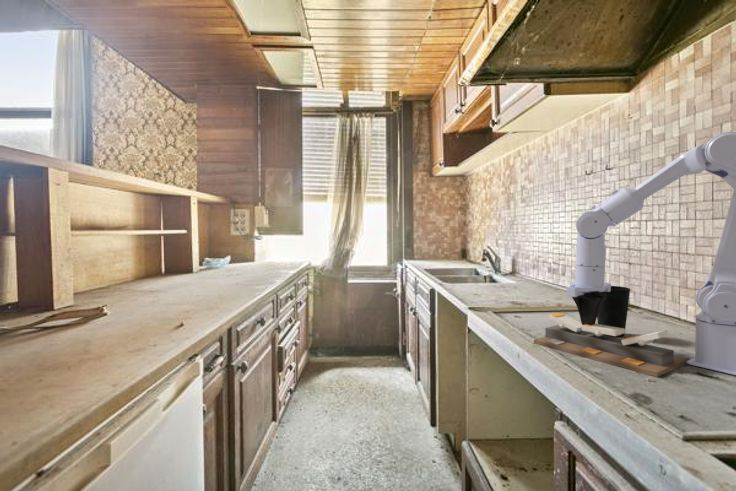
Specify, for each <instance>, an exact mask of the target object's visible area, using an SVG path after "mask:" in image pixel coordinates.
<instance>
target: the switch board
mask: <svg viewBox="0 0 736 491" xmlns="http://www.w3.org/2000/svg"><path fill="white" fill-rule="evenodd" d="M544 329H545V331H544V332H545V335H544V336H543V337H540V338H536V339H533V344H535V345H539V346H543V347H546V348H550V349H554V350H557V351H561V352H565V353H569V354H572V355H576V356H579V357H583V358H587V359H590V360H594V361H597V362H601V363H604V364H608V365H611V364H612V366H615V365H617V366H616V367H619V366H620V367H619V368H622V367H623V369H626V368H627V369H626V370H629V369H630V371H633V370H634V371H633V372H638V373H641V374H645V375H648V376H651V377H655V378H658V377H661V376H663V375H665V374H667V373H669V372H672V371H674V370H676V369H678V368H680V367H682V366H685V365H688V364H687V363H686V361H688V360H690V358H689V357H685V356H684V357H683V356H680V355H675V354H674V353H675V352H674V351H675V350H674V349H671V348H666V347H660V346H656V345H652V344H645V345H639V344H638V343H633V344H628V345H623V344H622V342H621V340H623V339H624V338H621V337H610V336H606V335H601V336H596V334H595V332H590V331H585V330H582V331H579V332H575V331H573V330H571V329H569V328H567V327H565V328H561V327H560V326H559V324H557V325H553V326H548V327H545V328H544Z"/></svg>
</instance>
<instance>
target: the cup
mask: <svg viewBox="0 0 736 491" xmlns="http://www.w3.org/2000/svg"><path fill="white" fill-rule="evenodd" d="M630 293H631V289H630V287H625V286H618V285H611V291H610V292H606V291H604V292H599V294H603V295H607V298H606V300H605V301H604V303H603V304H602V306H601V308H600V310H599V313H598V315H597V319H596V322H597V324H600V325H606V326H612V327H618V328H624V329H625V330H626V329H627V328H626V327H627V319H628V310H629V302H630V301H629V300H630ZM625 334H626V332H625V333H624V334H621V335H617V336H612V335H606V334H605V335H606V336H610V337H615V338H624V337H625V336H626V335H625Z"/></svg>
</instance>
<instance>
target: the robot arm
mask: <svg viewBox="0 0 736 491" xmlns="http://www.w3.org/2000/svg"><path fill="white" fill-rule="evenodd" d="M705 143H706V142H703V143H701V144H699V145H696V146H695V147H694V148H691V149H689V150H688V151H686V152H685V153H683V154H681V155H680V156H678V157H676V158H675V159H674V160H672V161H671V162H670V163H668V164H666V165H665V166H663V167H662V168H661V169H660V170H658V171H656V172H655V173H654V174H652V175H651V176H650V177H648V178H647V179H645V180H644V181H643V182H641V183H640V184H638V185H637V186H635V187H632V188H630V187H622V188H621V189H619V190H618V189H614V190H613V191H611V192H610V194H611V195H610V196H609V197H608V198H606V199H605V200H603V201H601V202H600V203H599V204H598V205H596V204H594V205H592V206H590V209H591V210H589V211H585V212H583V213H582V214H581V215H580V216H579V217H578V218H577V220H576V223H575V227H576V231H577V232H578V234H577V237H576V242H577V244H576V245H575V246H576V247H575V272H574V273H575V276H574V279H575V280H574V282H570V286H567V287H566V288H565V291H566V292H565V296H566V297H571V298H572V299H573V301H574V303H575V305H576V308H577V310H578V314H579V318H580V323H582V325H585V324H587V325H594V324H595V323H597V315H598V313H599V310H600V308H601V306H602V304H603V303H604V301H605V300H606V298H607V295H603V294H599V292H604V291H606V292H610V291H611V286H612V283H610V282H605V279H606V278H605V276H606V255H607V254H606V253H607V252H606V250H607V246H606V243H605V242H606V234H605V233H606V232H607V230H608V229H609V227H616V226H618V225H619V224H621V223H622V222H625V220H627V219H629V218H630V217H631V216H633V215H635V214H637V213H638V212H639V211H641V210H642V209H644V204H645V200H647V198H649V197H650V196H653V195H654V194H656V193H658V192H660V191H661V190H662V189H664V188H666V187H667V186H669V185H671V184H672V183H674V182H676V181H677V180H678V179H680V178H682V177H684V176H691V175H697V174H701V173H702V172H703V171H706V172H708V173H711V174H712V175H715V176H717V177H720V178H721V179H722V180H723V181H725V183H727V184H728V185H729V186H731V188H732V189H733V191H732V195H731V198H730V202H729V206H728V210H727V214H726V217H725V221H724V225H723V228H722V232H721V235H720V239H719V243H718V247H717V250H716V254H715V257H714V261H713V265H712V268H711V270H710V271H709V273H708V275H707V278H706V281H705V283H704V285H702V286H701V287H700V288H699V289H698V291H697V292H696V295H695V301H696V303H697V305H698V307H699V308H700V309H701V310H700V311H699V313H697V314H696V315H695V334H694V335H695V336H694V338H695V344H694V345H695V347H694V352H695V353H694V357H692V358H691V359H690V358H689V359H690V360H688V361H686V363H687V364H686V365H691V366H696V367H700V368H703V369H707V370H708V369H709V370H712V371H716V372H721V373H725V374H729V375H733V376H736V131H725V132H721V133H719V134H717V135H715V136H714V137H713V136H712V138H710V140H709V141H708V142H707V144H706V145H705Z"/></svg>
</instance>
